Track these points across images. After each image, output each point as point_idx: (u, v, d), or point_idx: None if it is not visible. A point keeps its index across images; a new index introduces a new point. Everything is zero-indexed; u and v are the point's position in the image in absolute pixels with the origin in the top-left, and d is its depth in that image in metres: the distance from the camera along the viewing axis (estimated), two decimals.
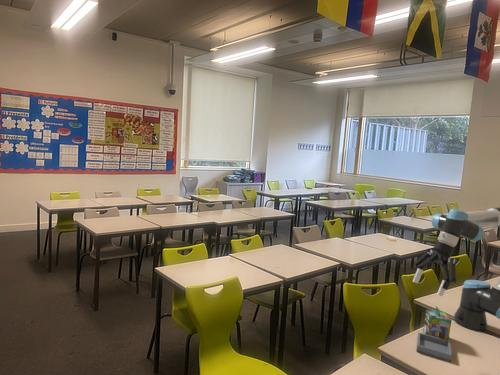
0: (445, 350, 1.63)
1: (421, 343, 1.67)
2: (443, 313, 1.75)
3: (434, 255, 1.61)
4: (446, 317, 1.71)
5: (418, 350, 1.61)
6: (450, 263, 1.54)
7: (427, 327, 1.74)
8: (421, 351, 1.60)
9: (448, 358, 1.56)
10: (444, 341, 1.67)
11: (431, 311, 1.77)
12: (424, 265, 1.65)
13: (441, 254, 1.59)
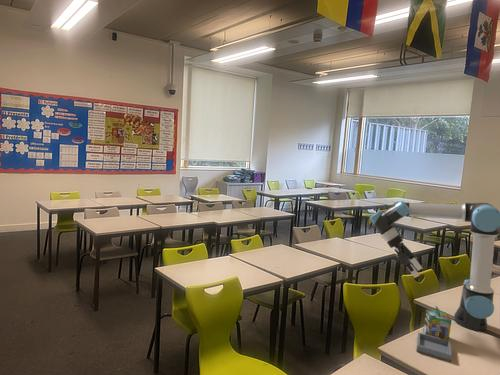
0: (445, 350, 1.63)
1: (421, 343, 1.67)
2: (443, 313, 1.75)
3: None
4: (446, 317, 1.71)
5: (418, 350, 1.61)
6: None
7: (427, 327, 1.74)
8: (421, 351, 1.60)
9: (448, 358, 1.56)
10: (444, 341, 1.67)
11: (431, 311, 1.77)
12: (408, 255, 1.96)
13: None
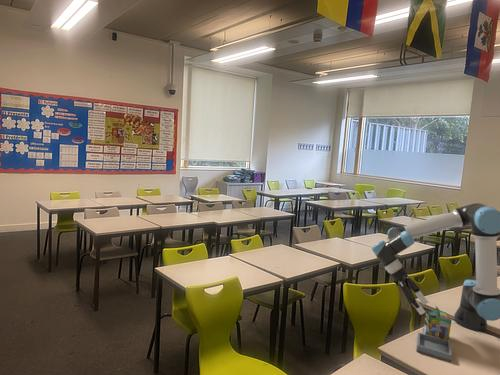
0: (445, 350, 1.63)
1: (421, 343, 1.67)
2: (443, 313, 1.75)
3: None
4: (446, 317, 1.71)
5: (418, 350, 1.61)
6: None
7: (427, 327, 1.74)
8: (421, 351, 1.60)
9: (448, 358, 1.56)
10: (444, 341, 1.67)
11: (431, 311, 1.77)
12: (413, 288, 1.84)
13: None
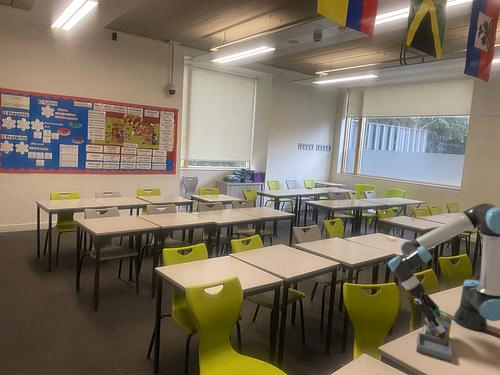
0: (445, 350, 1.63)
1: (421, 343, 1.67)
2: (443, 313, 1.75)
3: None
4: (446, 317, 1.71)
5: (418, 350, 1.61)
6: None
7: (427, 327, 1.74)
8: (421, 351, 1.60)
9: (448, 358, 1.56)
10: (444, 341, 1.67)
11: None
12: (431, 306, 1.80)
13: None
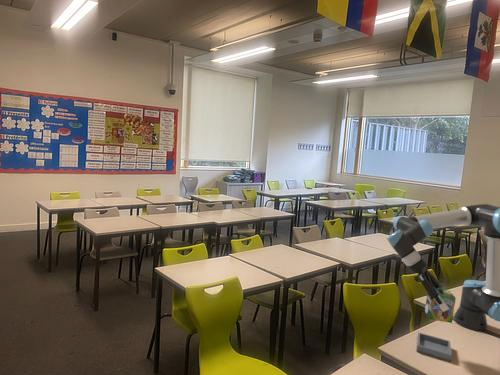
0: (445, 350, 1.63)
1: (421, 343, 1.67)
2: (447, 291, 1.63)
3: None
4: (450, 295, 1.58)
5: (418, 350, 1.61)
6: None
7: (429, 306, 1.61)
8: (421, 351, 1.60)
9: (448, 358, 1.56)
10: (444, 341, 1.67)
11: None
12: (434, 284, 1.67)
13: None
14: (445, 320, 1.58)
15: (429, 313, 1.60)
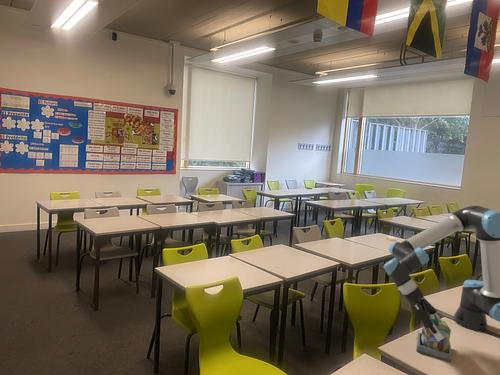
0: None
1: (421, 343, 1.67)
2: (442, 322, 1.64)
3: None
4: (445, 327, 1.60)
5: (418, 350, 1.61)
6: None
7: (425, 337, 1.62)
8: (421, 351, 1.60)
9: (448, 358, 1.56)
10: None
11: None
12: (429, 310, 1.69)
13: None
14: None
15: (424, 344, 1.61)
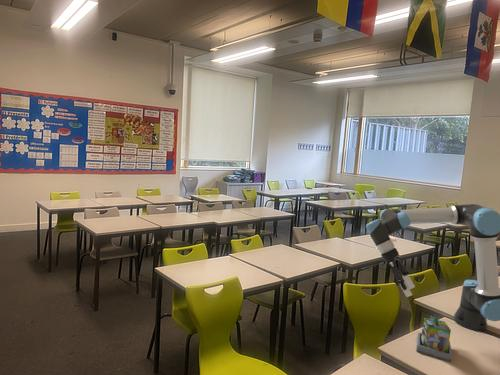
0: None
1: (421, 343, 1.67)
2: (442, 322, 1.64)
3: None
4: (445, 327, 1.60)
5: (418, 350, 1.61)
6: None
7: (425, 337, 1.62)
8: (421, 351, 1.60)
9: (448, 358, 1.56)
10: None
11: (429, 320, 1.65)
12: (402, 271, 1.79)
13: None
14: None
15: (424, 344, 1.61)
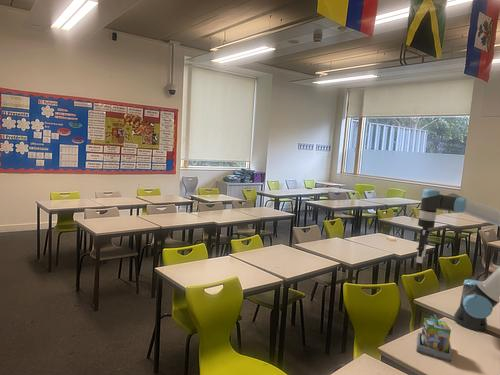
0: None
1: (421, 343, 1.67)
2: (442, 322, 1.64)
3: (421, 230, 1.90)
4: (445, 327, 1.60)
5: (418, 350, 1.61)
6: (420, 234, 1.83)
7: (425, 337, 1.62)
8: (421, 351, 1.60)
9: (448, 358, 1.56)
10: None
11: (429, 320, 1.65)
12: None
13: None
14: None
15: (424, 344, 1.61)
